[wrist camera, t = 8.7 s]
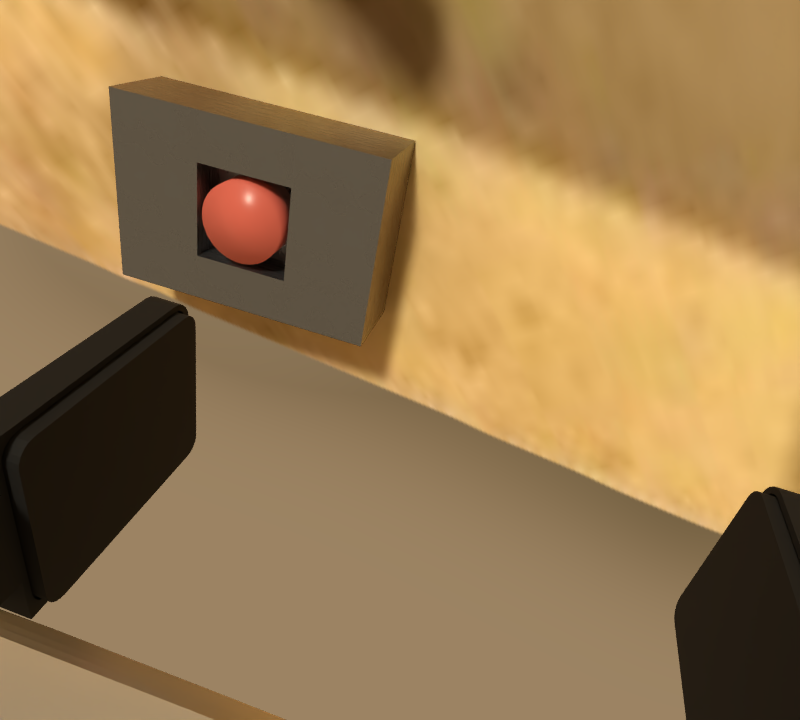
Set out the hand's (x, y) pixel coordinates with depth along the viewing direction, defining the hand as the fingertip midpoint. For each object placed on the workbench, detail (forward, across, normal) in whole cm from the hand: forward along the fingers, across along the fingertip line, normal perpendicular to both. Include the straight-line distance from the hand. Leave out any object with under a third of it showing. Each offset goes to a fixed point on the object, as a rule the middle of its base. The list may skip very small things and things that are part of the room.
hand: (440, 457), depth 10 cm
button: (+33, +19, +11) cm, 40 cm away
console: (+36, +19, +11) cm, 42 cm away
